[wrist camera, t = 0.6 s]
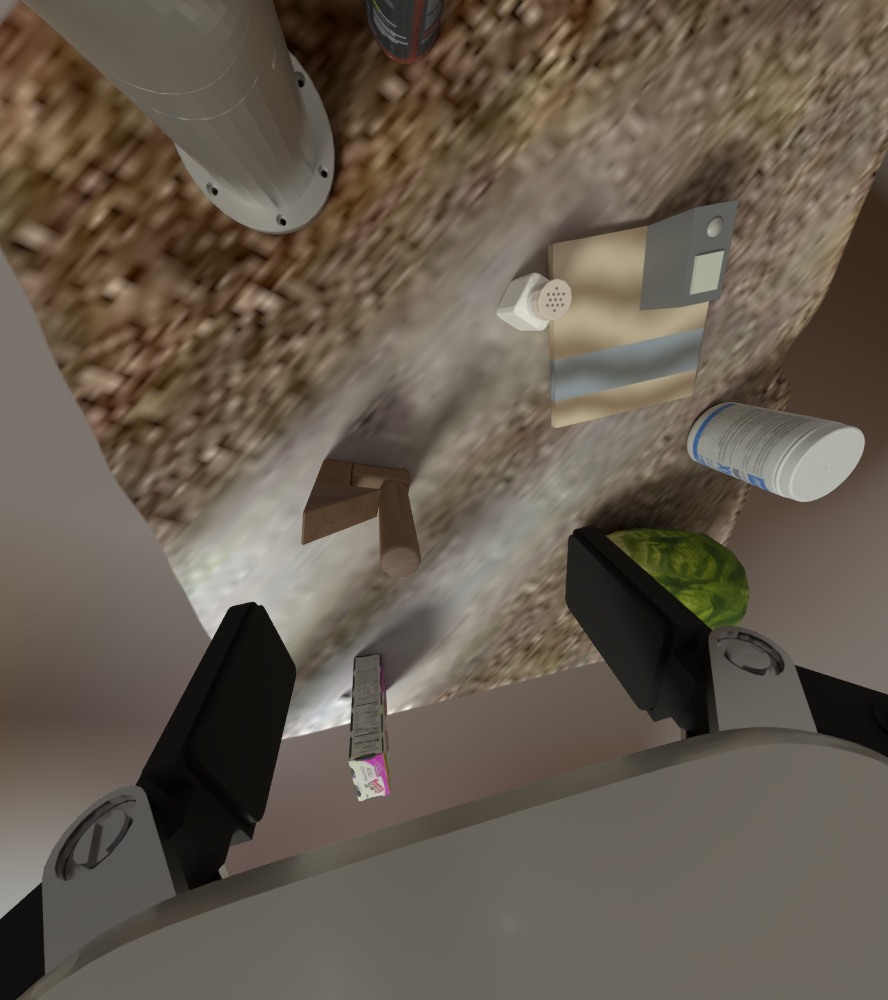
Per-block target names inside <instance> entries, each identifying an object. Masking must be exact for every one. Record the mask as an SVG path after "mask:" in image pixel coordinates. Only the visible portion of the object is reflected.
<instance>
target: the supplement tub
mask: <svg viewBox="0 0 888 1000" xmlns="http://www.w3.org/2000/svg"><path fill="white" fill-rule="evenodd" d="M864 443H865V440H864V435H863V433H862V432H861V431H860V430H859V429H858V428H856V427H852V426H848V425H845V424H842V423H838V422H834V421H829V420H824V419H819V418H814V417H809V416H803V415H798V414H793V413H787V412H782V411H777V410H772V409H767V408H761V407H756V406H751V405H746V404H741V403H735V402H725V403H721V404H718V405H716V406H714V407H712V408H710V409H708V410H707V411H706V412H704V413H703V414H702V415H701V416H700V417H699V418H698V419H697V421H696V422H695V423H694V425H693V427H692V428H691V430H690V433H689V436H688V440H687V451H688V454H689V455H690V457H691V458H692V459H693V460H694V461H696V462H698V463H700V464H702V465H705V466H707V467H710V468H712V469H715V470H717V471H720V472H722V473H725V474H727V475H730V476H732V477H735V478H737V479H740V480H742V481H745V482H747V483H750V484H752V485H755V486H758V487H760V488H762V489H765V490H767V491H770V492H772V493H775V494H778V495H781V496H783V497H786V498H791V499H794V500H797V501H801V502H807V501H812V500H815V499H818V498H820V497H822V496H824V495H826V494H828V493H829V492H831V491H832V490H834V489H835V488H836V487H837V486H839V485H840V484H841V483H842V482H843V481H844V480H845V479H846V478H847V477H848V476H849V474H850V473H851V472H852V471H853V469H854V468H855V466H856V465H857V463H858V461H859V460H860V457H861V455H862V453H863V450H864Z"/></svg>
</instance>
